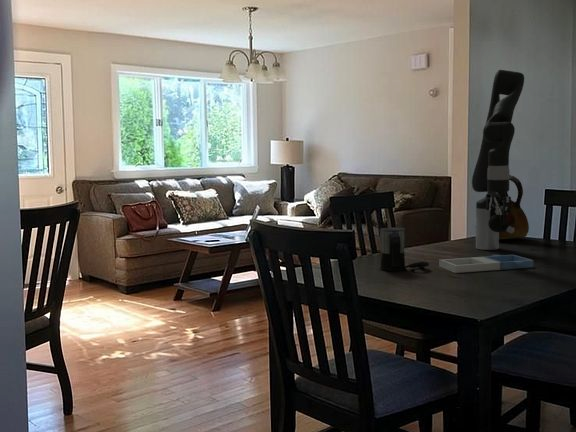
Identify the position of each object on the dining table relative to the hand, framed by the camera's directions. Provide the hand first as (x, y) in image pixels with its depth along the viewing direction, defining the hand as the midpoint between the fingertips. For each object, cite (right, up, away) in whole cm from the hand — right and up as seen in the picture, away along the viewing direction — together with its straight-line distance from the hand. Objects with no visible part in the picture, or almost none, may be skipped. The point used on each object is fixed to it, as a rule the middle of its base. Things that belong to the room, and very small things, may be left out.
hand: (497, 223), depth 236 cm
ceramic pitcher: (+24, -8, +64) cm, 69 cm away
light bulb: (+1, -3, 0) cm, 3 cm away
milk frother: (-34, -17, 0) cm, 38 cm away
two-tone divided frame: (-4, -16, 0) cm, 16 cm away
